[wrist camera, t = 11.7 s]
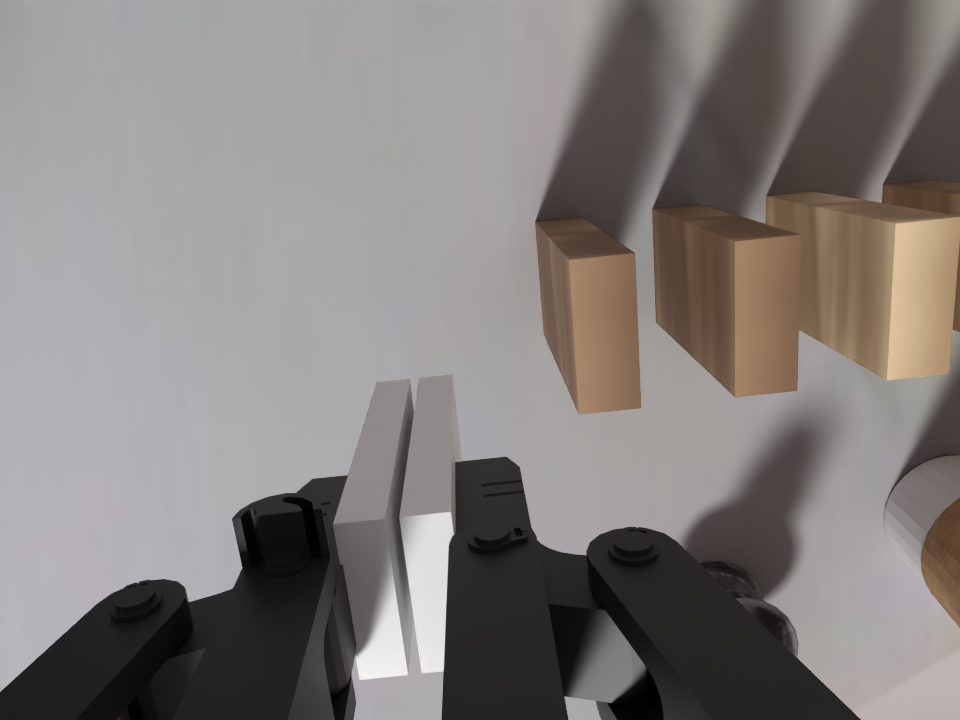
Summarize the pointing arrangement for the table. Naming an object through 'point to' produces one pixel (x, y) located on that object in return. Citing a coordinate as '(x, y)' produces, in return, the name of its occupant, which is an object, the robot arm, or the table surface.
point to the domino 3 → (929, 198)
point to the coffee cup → (930, 527)
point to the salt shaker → (754, 601)
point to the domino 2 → (729, 295)
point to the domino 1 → (590, 313)
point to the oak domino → (874, 280)
